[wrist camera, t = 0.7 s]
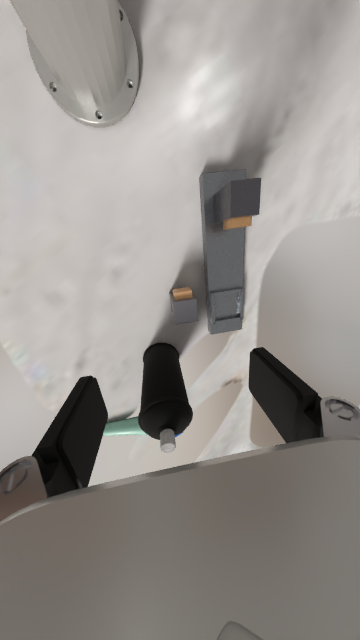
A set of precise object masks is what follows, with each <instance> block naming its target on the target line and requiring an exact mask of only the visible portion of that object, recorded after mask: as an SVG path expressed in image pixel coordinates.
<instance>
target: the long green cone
mask: <svg viewBox="0 0 360 640" xmlns="http://www.w3.org/2000/svg"><path fill="white" fill-rule="evenodd" d="M113 435H114V436H115V435H148V434H146V433H145V432H144V431H142V429H141V428H140V426H139V424H138V417H133V418H129V419H124V420H120V421H116V422H111V423H107V424H106V426H105V429H104V433H103V436H113Z"/></svg>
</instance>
